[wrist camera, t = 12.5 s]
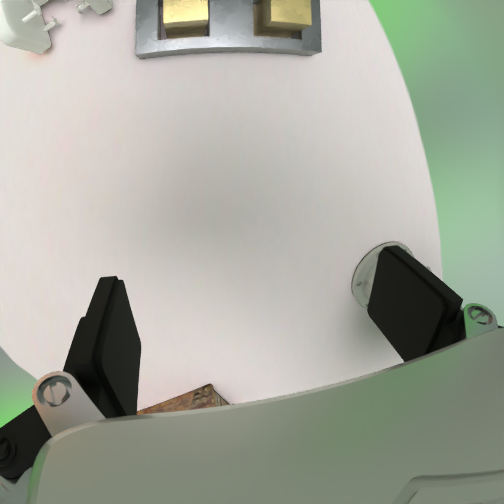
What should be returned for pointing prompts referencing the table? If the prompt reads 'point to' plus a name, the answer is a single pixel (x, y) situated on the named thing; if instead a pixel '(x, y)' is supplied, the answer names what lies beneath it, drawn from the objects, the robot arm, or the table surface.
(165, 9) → the brass square peg
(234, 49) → the peg holder block
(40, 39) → the cable organizer
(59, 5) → the table surface
